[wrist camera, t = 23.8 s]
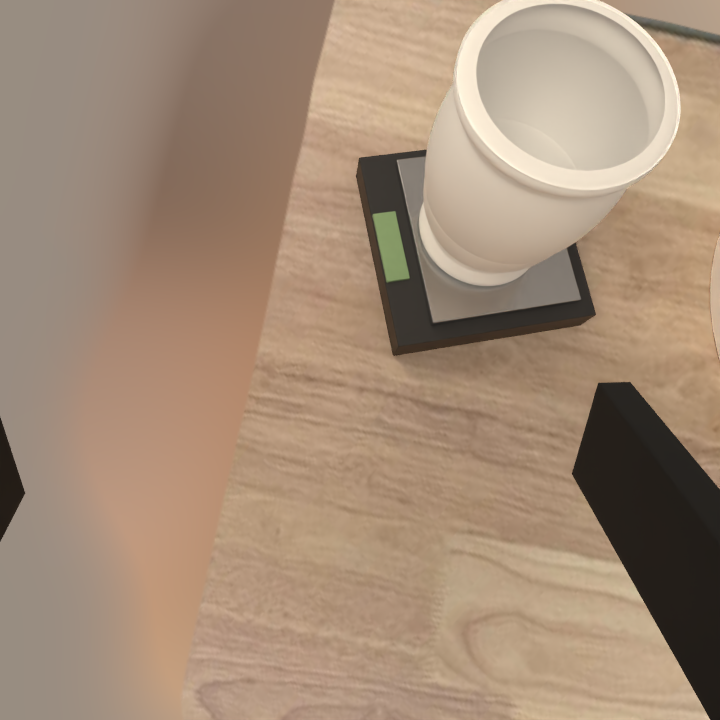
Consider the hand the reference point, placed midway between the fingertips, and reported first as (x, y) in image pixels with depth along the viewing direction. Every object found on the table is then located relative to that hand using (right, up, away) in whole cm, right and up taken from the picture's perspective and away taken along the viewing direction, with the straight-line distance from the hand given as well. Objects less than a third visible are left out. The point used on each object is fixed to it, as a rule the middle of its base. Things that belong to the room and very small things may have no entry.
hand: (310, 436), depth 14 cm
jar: (+9, +11, +29) cm, 32 cm away
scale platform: (+10, +11, +29) cm, 33 cm away
